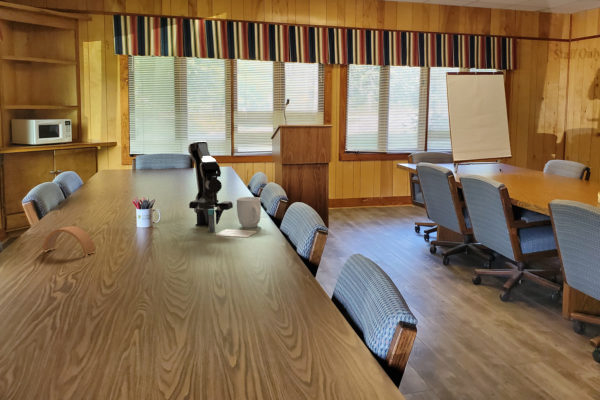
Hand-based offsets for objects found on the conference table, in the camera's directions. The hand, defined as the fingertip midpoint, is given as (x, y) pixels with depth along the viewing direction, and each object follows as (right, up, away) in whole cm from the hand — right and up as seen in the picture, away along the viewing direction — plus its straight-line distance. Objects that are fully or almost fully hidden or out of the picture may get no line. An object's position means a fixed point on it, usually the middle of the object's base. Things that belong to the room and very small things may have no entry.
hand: (211, 224), depth 242 cm
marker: (0, -3, +1) cm, 4 cm away
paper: (+11, -4, -4) cm, 13 cm away
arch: (-50, -10, -31) cm, 60 cm away
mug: (+16, -2, +9) cm, 19 cm away
